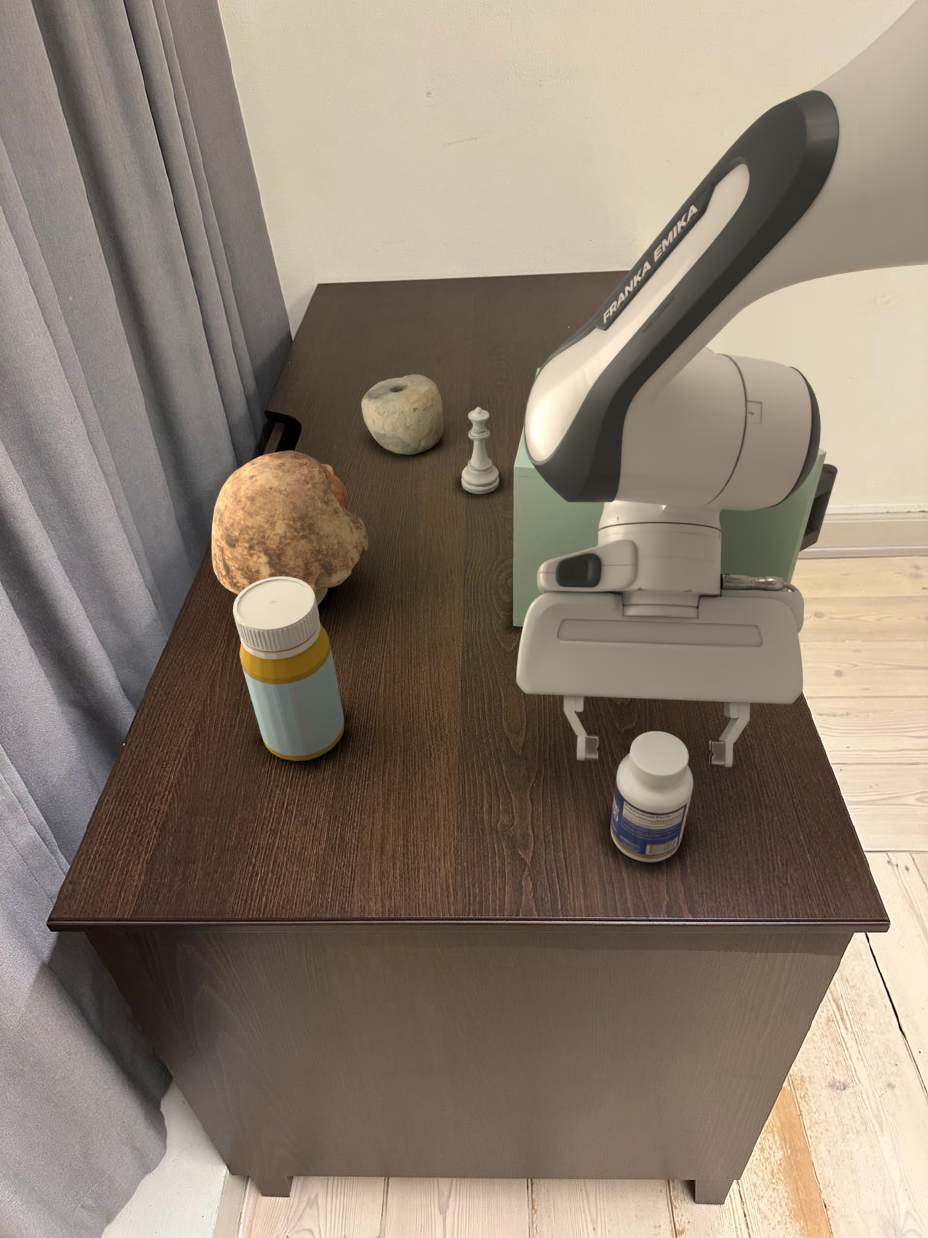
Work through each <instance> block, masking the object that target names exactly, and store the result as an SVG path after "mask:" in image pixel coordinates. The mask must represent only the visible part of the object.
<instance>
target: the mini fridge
mask: <svg viewBox="0 0 928 1238" xmlns="http://www.w3.org/2000/svg"><path fill="white" fill-rule="evenodd" d="M540 368H541V367H537V369H536V372H535V376H536V375H537V373H538V372H539V370H540ZM604 503H605V502H567V501H565V500H564V499H563V498H562V497H561V496H560V495H559V494H558V493H556V492H555V491H554V490H553V489H552V488H551V487H550V486H549V485H548V483H547V482H546V481H545V480H544V479H543V478H542V476H541V475H540V474H539V473H538V471H537V470H536V469H535V467H534V466H533V464H532V463H531V461H530V459H529V458H528V456H527V453H526V450H525V444H524V426H523V428H522V431H521V435H520V440H519V444H518V448H517V454H516V456H515V459H514V465H513V570H512V571H513V583H512V588H513V589H512V591H513V593H512V594H513V596H512V597H513V599H512V600H513V601H512V604H513V605H512V609H513V610H512V612H513V613H512V624H513V625H512V626H514V627H522V628H523V625H524V621H525V617H526V614H527V611H528V609H529V607H530V605H531V604H532V603H533V601H534V600H535V599H536V598H538V597H539V596H541V595H543V594H542V593H541V592H540V591H539V589H538V586H537V572H538V569H539V567H540V566H541V565H542V564H543V563H544V562H546V561H548V560H550V559H553V558H557V557H560V556H564V555H568V554H571V553H575V552H578V551H582V550H586V549H589V548H593V547H596V546H597V545H598V528H599V522H600V519H601V516H602V513H603V510H604Z"/></svg>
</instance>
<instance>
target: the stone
mask: <svg viewBox="0 0 928 1238" xmlns="http://www.w3.org/2000/svg"><path fill="white" fill-rule="evenodd" d="M440 393H441V392H440V391H439V388H438V386H437V384H436V383H435V382H434V381H433V380H432V379H430V378H428V377H426V376H424V375H423V374H417V373H416V374H415V373H414V374H409V375H404V376H403V377H393V378H388V379H385V380H381V381H379V382H377V383H376V384H374V385H373V386H372V387H371V388H370V389H368V391H367V392H366V393H365V394H364V395H363V397H362V399H361V405H360V406H361V412H362V417H363V421H364V423H365V426H366V427H367V429H368V431H369V433H370V434H371V436H372V437H373V439H374V440H375V441H376V442H377V444H379V446H381V447H382V448H384V449H385V450H387V451H390V452H392V453H395V454H398V455H408V456H411V455H417V454H419V453H423V452H425V451H428V450H429V449H432V448H433V447H434V446H436V444H437V443H439V442H440V440H441V438H442V435H443V433H444V420H443V419H444V417H443V412H444V411H443V409H444V407H443V401H442V397H441V394H440Z"/></svg>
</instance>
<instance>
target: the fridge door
mask: <svg viewBox="0 0 928 1238" xmlns="http://www.w3.org/2000/svg"><path fill="white" fill-rule="evenodd" d="M827 454H828V453H827V451H826V450H824V449H822V448H820V447H819V451H818V455H817V459H816V462H815V464H814V467H813V469H812V470H811V472H810V474H809V476H808V477H807V479H806V480H805V481H804V483H803V484H802V485H801V486H800V487H799V489H798V490H797V491H796V492H794V493H793V494H792V495H791V496H790V497H789V498H787V499H786V500H785V501H783V502H782V503H780V504H779V505H777V506H774V507H769V508H761V509H757V510H750V511H738V510H724V509H722V510H721V512H720V515H719V521H720V526H721V531H722V532H721V572H720V573H721V574H730V575H746V576H754V577H764V576H778V577H782V578H783V579H784V582H788V583H790V584H792V580H793V576H794V572H795V570H796V569H795V568H796V565H797V561H798V558H799V554H800V553H801V552H803V551H804V550H807V549H808V548H809V547H811V546H813V545H815V544H817V543H818V541H819V538H820V533H821V530H822V527H823V523H824V520H825V517H826V513H827V510H828V506H829V502H830V500H831V495H832V492H833V489H834V485H835V482H836V479H837V475H838V472H839V470H838V468H837V466H835V465H834V464H830V463H825V461H826V457H827ZM752 591H762V590H754V589H753V590H752ZM781 591H786V592H790V590H789V589H788V588H785V587H784V588H783V590H781Z"/></svg>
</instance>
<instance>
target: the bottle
mask: <svg viewBox="0 0 928 1238" xmlns="http://www.w3.org/2000/svg"><path fill="white" fill-rule="evenodd" d="M232 608H233V609H232V614H233V618H234V622H235V626H236V629H237V632H238V635H239V640H240V642H241V643H240V647H239V657H240V664H241V668H242V671H243V674H244V678H245V682H246V684H247V688H248V691H249V695H250V700H251V702H252V706H253V710H254V713H255V717H256V720H257V724H258V728H259V731H260V734H261V738H262V740H263V743H264V745H265V747H266V748H267V750H268V751H269V752H270V753H271V754H273V755H274V756H276V757H278V758H280V759H283V760H288V761H293V762H301V761H310V760H313V759H316V758H319V757H321V756H322V755H325V754H327V752H329V751H331V750H332V749H333V748H334V747H335V746H336V745H337V744H338V743H339V741H340V740H341V738H342V736H343V733H344V732H345V731H344V730H345V716H344V712H343V706H342V700H341V694H340V689H339V685H338V678H337V674H336V669H335V664H334V663H335V662H334V657H333V652H332V651H333V650H332V647H331V642H330V637H329V635H328V633H327V631H326V630H325V628H324V627H323V625H322V623H321V622H320V621H321V620H320V613H319V607H318V606H317V602H316V597H315V593H314V592H313V590H312V588H311V587H310V586H309V585H308V584H307V583H305V582H304V581H302V580H299V579H296V578H292V577H271V578H266V579H263V580H260V581H257V582H255V583H253V584H251V585H249V586H248V587H246V588H245V589H244V590H243V591H241V592H240V594H239V595H238V594H237V596H236V598H235V599H234V602H233V607H232Z"/></svg>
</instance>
